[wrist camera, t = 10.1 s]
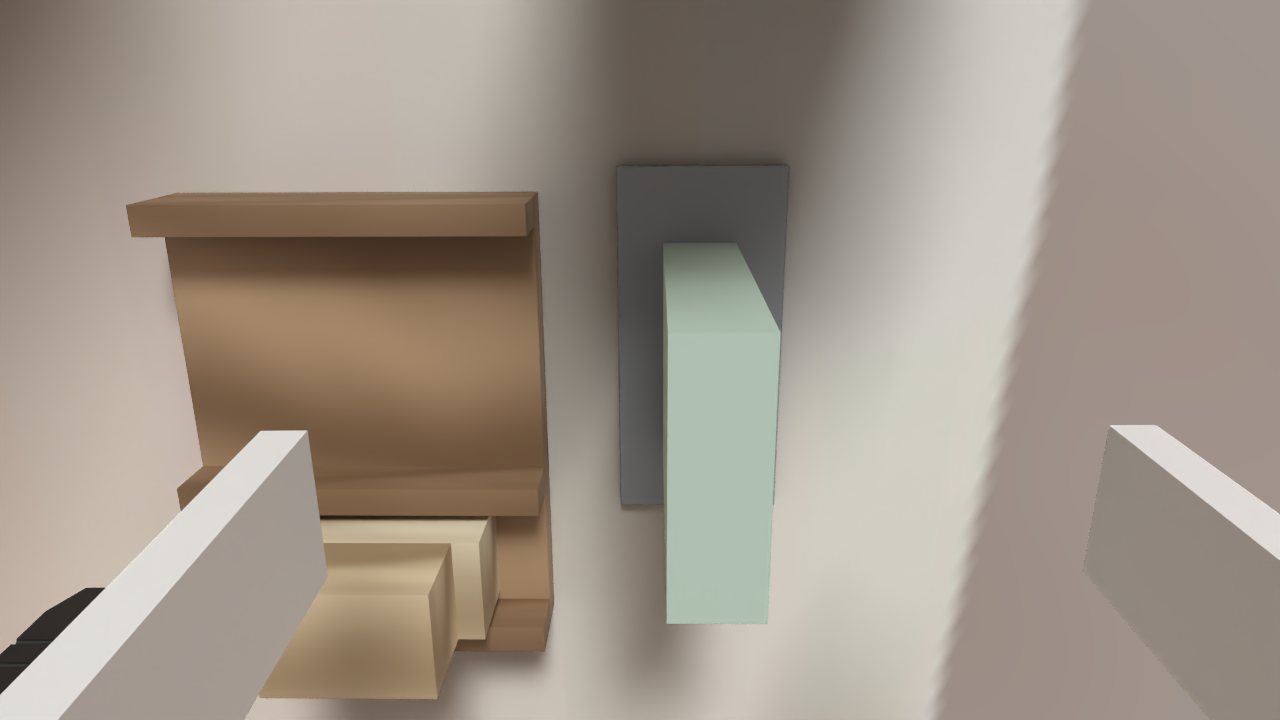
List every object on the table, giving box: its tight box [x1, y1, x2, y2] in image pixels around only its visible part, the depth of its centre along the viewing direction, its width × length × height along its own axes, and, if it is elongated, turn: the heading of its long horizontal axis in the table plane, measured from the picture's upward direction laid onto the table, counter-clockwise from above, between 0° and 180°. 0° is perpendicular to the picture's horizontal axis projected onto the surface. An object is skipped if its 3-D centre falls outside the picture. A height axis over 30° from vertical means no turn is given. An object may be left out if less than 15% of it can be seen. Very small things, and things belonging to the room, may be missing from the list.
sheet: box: [663, 243, 781, 624], centre depth 21 cm, size 6×2×9 cm, turn 0°
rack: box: [126, 192, 554, 651], centre depth 25 cm, size 13×10×2 cm
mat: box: [617, 165, 789, 505], centre depth 25 cm, size 10×5×1 cm, turn 0°
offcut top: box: [259, 543, 458, 699], centre depth 23 cm, size 3×4×2 cm, turn 90°
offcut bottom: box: [319, 515, 500, 639], centre depth 25 cm, size 3×7×2 cm, turn 90°
